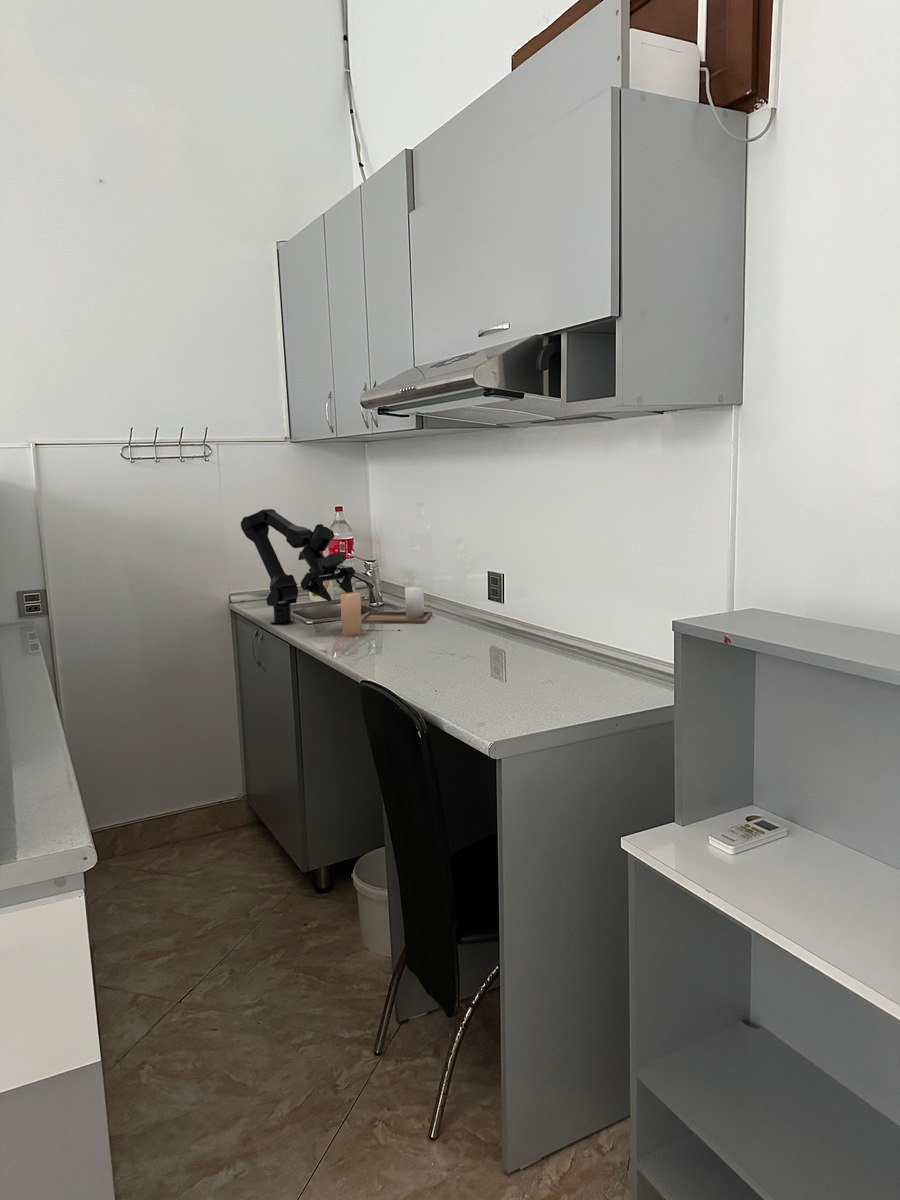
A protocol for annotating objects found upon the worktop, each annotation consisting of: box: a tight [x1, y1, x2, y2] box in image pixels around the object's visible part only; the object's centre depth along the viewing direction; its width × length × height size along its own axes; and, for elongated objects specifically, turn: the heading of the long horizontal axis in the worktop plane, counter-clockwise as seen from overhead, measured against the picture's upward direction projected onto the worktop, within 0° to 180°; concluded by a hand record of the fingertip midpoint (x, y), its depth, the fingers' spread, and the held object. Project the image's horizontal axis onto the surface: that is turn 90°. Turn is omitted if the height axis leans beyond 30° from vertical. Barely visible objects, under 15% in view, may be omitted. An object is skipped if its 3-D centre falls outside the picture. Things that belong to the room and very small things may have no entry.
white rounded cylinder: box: [404, 585, 425, 619], centre depth 288 cm, size 6×6×10 cm
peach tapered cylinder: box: [340, 591, 363, 637], centre depth 267 cm, size 6×6×12 cm
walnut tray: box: [361, 611, 433, 625], centre depth 287 cm, size 16×22×2 cm
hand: (341, 598), depth 269 cm, fingers open, 9 cm apart
